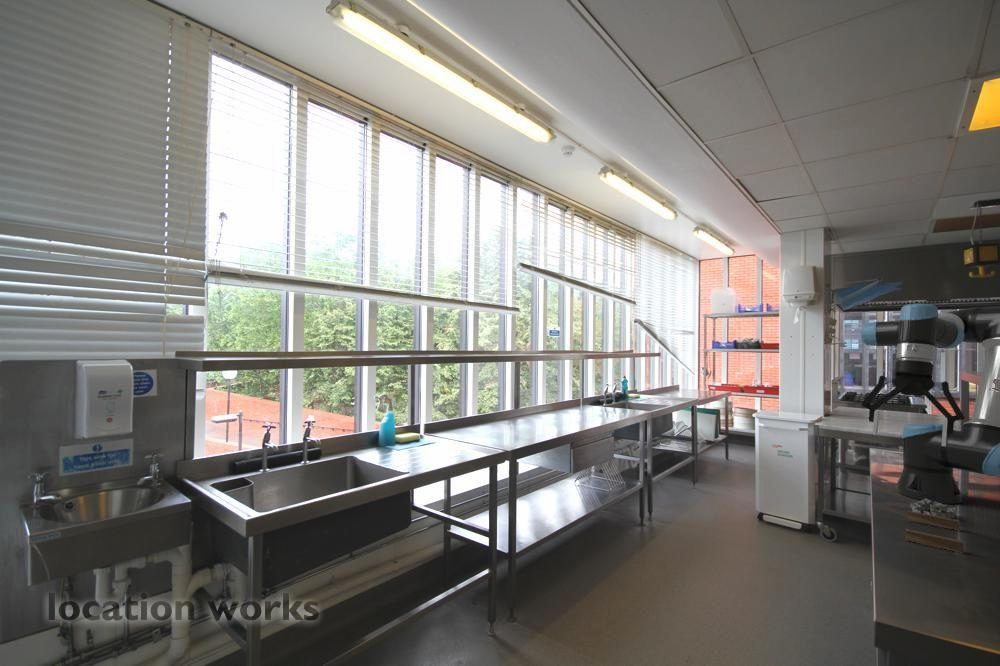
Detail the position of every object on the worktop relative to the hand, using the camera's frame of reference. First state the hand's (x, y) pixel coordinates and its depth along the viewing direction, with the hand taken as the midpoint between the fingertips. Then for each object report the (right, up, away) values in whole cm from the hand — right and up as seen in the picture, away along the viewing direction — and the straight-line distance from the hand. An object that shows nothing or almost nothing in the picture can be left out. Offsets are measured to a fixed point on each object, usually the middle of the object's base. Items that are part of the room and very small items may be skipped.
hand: (907, 440), depth 120 cm
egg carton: (+14, -24, +8) cm, 29 cm away
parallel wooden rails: (+2, -23, -5) cm, 23 cm away
